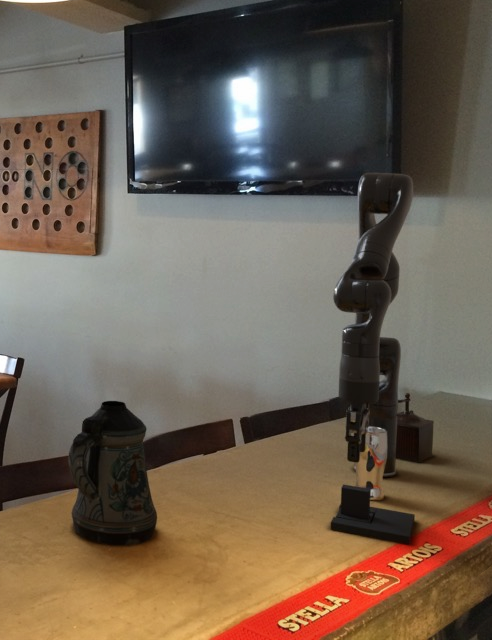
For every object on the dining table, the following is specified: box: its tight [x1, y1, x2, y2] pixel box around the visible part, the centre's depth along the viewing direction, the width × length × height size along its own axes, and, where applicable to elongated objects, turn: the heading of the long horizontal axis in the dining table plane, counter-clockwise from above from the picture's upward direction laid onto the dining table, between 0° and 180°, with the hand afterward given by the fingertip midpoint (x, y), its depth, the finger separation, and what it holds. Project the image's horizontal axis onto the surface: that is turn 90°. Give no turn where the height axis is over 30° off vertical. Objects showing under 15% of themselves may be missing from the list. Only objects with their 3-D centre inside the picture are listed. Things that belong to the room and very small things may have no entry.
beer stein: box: [67, 400, 158, 546], centre depth 156 cm, size 16×19×25 cm
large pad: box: [330, 503, 416, 545], centre depth 162 cm, size 14×14×2 cm
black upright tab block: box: [335, 484, 374, 524], centre depth 164 cm, size 6×6×7 cm
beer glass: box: [355, 426, 388, 501], centre depth 180 cm, size 7×7×15 cm
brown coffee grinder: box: [379, 380, 435, 463], centre depth 215 cm, size 16×11×18 cm
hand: (356, 456), depth 164 cm, fingers open, 8 cm apart
